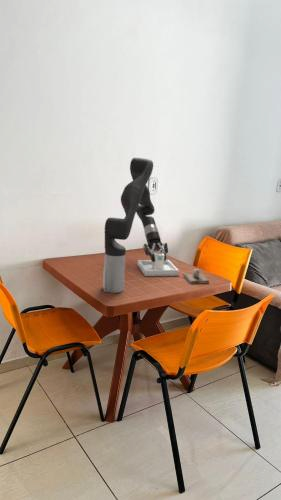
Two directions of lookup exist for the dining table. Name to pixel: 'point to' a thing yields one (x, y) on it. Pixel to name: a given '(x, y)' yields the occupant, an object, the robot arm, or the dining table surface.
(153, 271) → the tray
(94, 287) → the dining table surface
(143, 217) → the robot arm
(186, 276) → the stake base
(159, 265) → the sleeve
